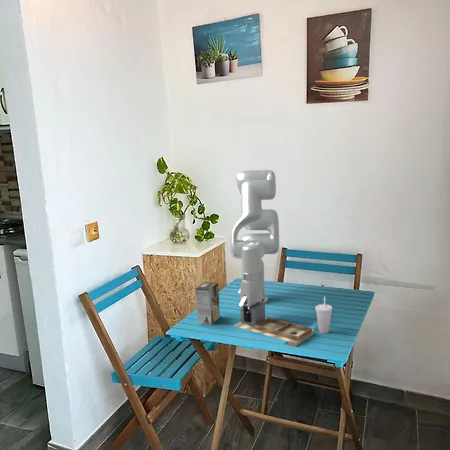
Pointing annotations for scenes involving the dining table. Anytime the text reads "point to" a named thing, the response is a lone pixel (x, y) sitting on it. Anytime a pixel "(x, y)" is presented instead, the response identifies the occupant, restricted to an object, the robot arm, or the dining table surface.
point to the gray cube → (255, 314)
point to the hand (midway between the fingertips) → (253, 318)
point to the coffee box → (207, 303)
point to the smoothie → (323, 317)
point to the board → (280, 330)
